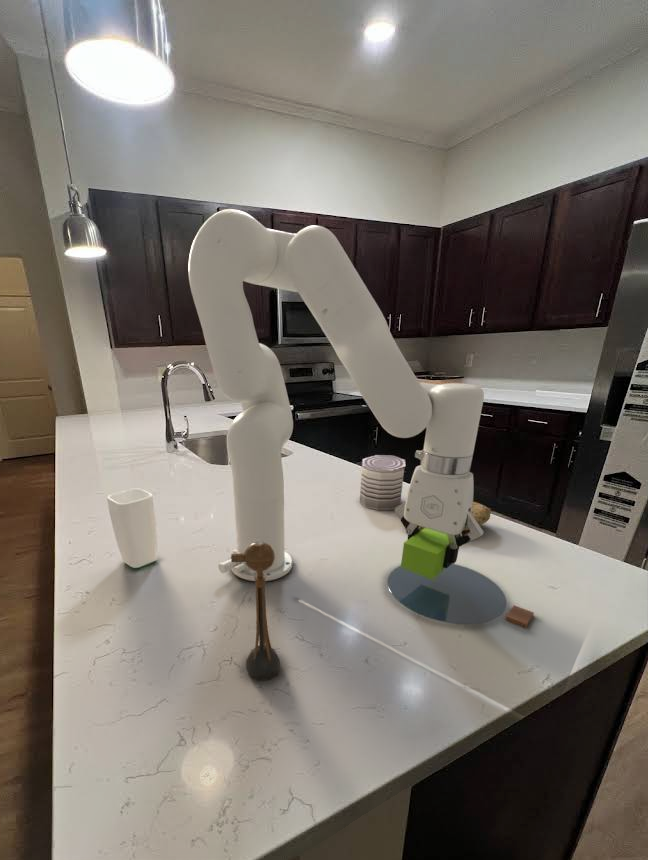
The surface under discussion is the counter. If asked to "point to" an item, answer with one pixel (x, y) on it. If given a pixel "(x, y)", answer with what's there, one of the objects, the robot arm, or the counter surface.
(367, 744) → the counter surface
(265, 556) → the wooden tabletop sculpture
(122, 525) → the cup
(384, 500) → the can
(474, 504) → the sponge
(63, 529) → the counter surface
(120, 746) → the counter surface
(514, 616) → the brown rectangular block
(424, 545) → the small sponge
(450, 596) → the plate
